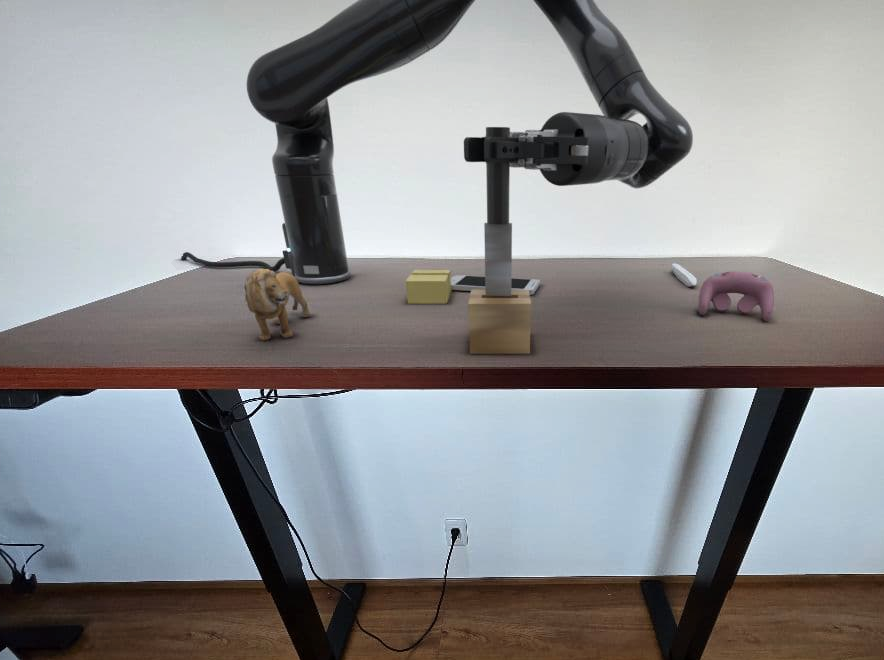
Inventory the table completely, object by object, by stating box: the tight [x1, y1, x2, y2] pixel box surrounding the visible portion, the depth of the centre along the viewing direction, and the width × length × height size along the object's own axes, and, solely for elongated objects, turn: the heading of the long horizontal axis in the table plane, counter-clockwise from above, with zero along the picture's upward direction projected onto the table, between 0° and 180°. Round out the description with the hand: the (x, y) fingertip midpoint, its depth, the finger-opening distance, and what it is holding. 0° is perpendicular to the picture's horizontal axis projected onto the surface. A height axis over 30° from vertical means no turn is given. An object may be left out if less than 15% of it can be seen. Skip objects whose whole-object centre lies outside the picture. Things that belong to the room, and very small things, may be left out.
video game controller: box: [698, 270, 775, 322], centre depth 69 cm, size 10×5×7 cm, turn 71°
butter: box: [405, 269, 452, 305], centre depth 76 cm, size 6×7×4 cm
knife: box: [483, 126, 513, 296], centre depth 52 cm, size 3×2×17 cm
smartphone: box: [451, 274, 541, 296], centre depth 82 cm, size 7×15×1 cm, turn 77°
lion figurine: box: [243, 267, 311, 341], centre depth 61 cm, size 15×5×9 cm, turn 13°
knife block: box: [467, 290, 532, 355], centre depth 57 cm, size 7×6×6 cm
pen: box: [670, 263, 698, 287], centre depth 88 cm, size 2×14×2 cm, turn 178°
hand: (476, 149), depth 47 cm, fingers closed on knife, 2 cm apart
